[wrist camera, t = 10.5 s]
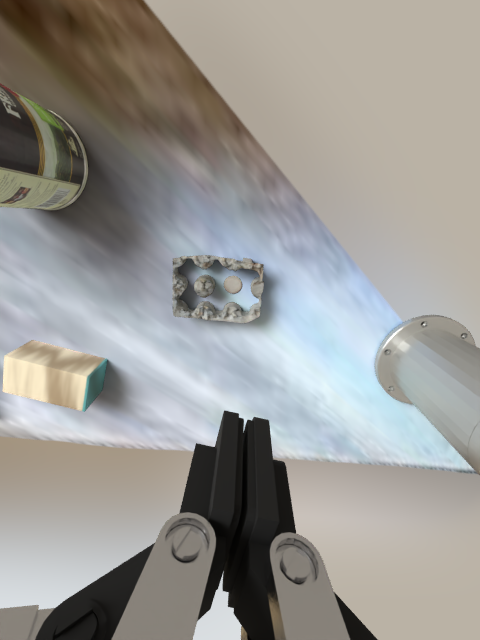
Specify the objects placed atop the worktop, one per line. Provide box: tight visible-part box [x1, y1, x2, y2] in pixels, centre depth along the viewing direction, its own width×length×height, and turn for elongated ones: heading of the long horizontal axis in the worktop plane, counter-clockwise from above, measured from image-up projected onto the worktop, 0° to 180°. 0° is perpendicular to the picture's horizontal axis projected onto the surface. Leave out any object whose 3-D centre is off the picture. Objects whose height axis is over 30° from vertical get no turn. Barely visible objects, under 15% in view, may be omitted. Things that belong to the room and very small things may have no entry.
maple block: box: [3, 340, 107, 412], centre depth 39 cm, size 5×5×10 cm
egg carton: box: [173, 255, 264, 323], centre depth 36 cm, size 11×8×4 cm
